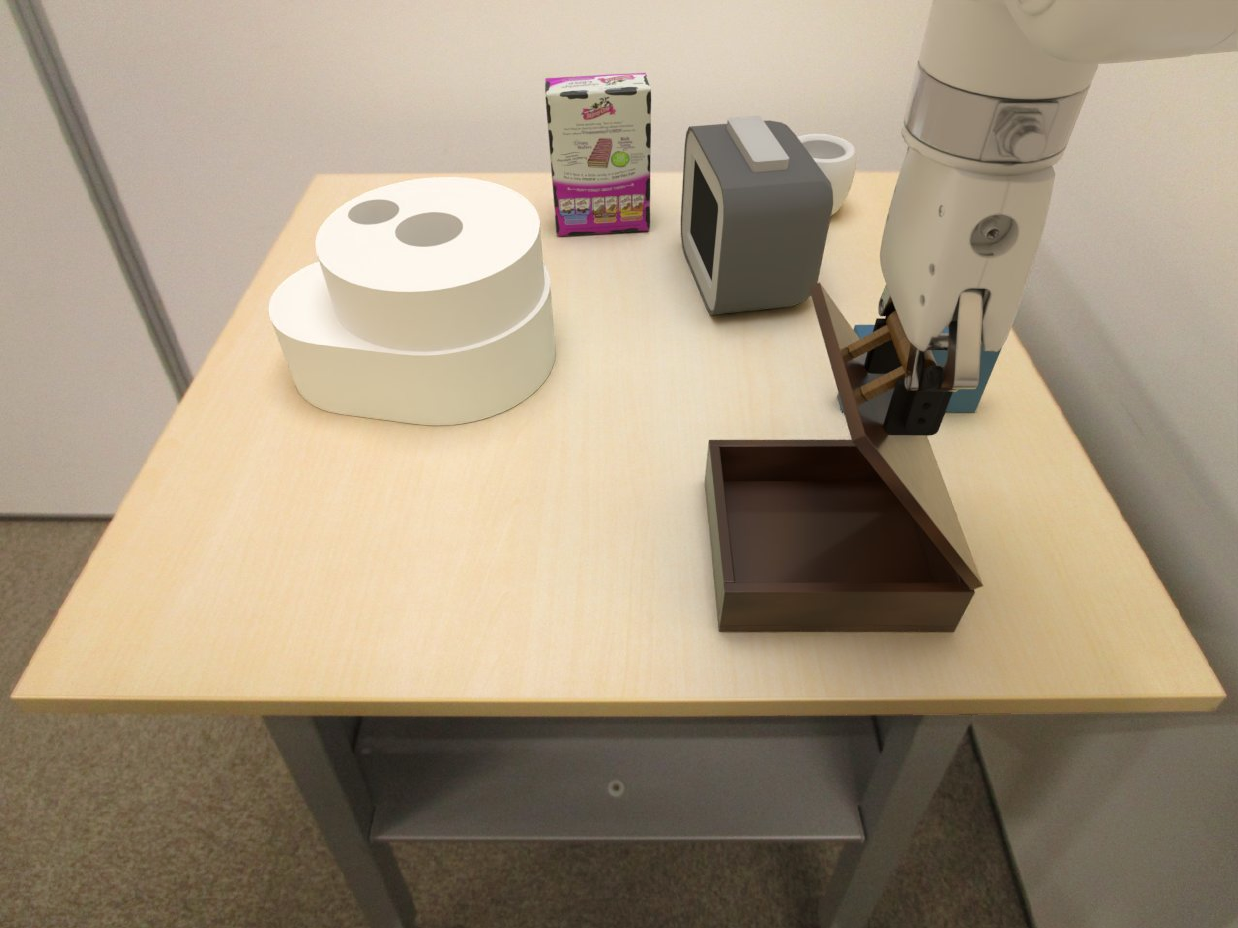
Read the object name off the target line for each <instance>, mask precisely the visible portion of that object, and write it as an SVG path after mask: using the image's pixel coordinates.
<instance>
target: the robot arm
mask: <svg viewBox="0 0 1238 928" xmlns="http://www.w3.org/2000/svg"><path fill="white" fill-rule="evenodd" d="M1231 52H1233V53H1234V52H1238V0H932V3H931V7H930V11H929V15H928V19H927V22H926V27H925V31H924V35H923V39H922V43H921V46H920V51H919V56H918V60H917V63H916V68H915V72H914V76H913V80H912V84H911V88H910V92H909V96H908V100H907V104H906V108H905V112H904V117H903V121H902V125H901V131H900V133H901V137H902V139H903V142H904V143H905V144H906V145H907V148H906V151H905V154H904V157H903V160H902V164H901V167H900V171H899V173H898V177H897V179H896V183H895V185H894V190H893V193H892V197H891V200H890V204H889V207H888V212H887V215H886V220H885V225H884V228H883V232H882V238H881V244H880V248H879V249H880V250H879V262H880V263H879V264H880V269H881V273H882V275H883V279H884V281H885V286H884V288H883V291H882V294H881V296H880V298H879V300H878V307H877V308H878V309H877V310H878V316H879V317H876V318H875V322H874V325H875V326H874V329H873V332H874V331H876V330H878V329H880V328H882V327H884V326H886V321H887V318H888V317H889V315H890V314H891V313H892V312H894V311H897V314H898V317H899V319H900V322H901V324H902V327H903V329H904V331H905V334H906V336H907V338H908V340H909V341H910V342H911V345H910V350H909V356H908V361H907V367H906V372H905V378H901V379H897V381H896V384H895V388H894V391H893V394H892V398H891V401H890V404H889V407H888V411H887V414H886V417H885V420H884V424H883V426H884V429H885V431H886V433H887V434H888V435H927V436H935V435H936V434H937V433H938V432H939V431H940V428H941V425H942V423H943V420H944V417H945V414H946V413H947V412H946V409H947V407H948V404H949V401H950V399H951V396H952V393H953V392H956V391H958V389H976V388H977V386H978V383H979V370H980V352H981V345H982V347H983V349H984V351H990V352H997V351H999V350H1000V349H1001V348H1002V349H1003V347H1002V346H1004V345H1005V343H1006V342H1007V339H1008V337H1009V335H1010V332H1011V329H1012V327H1013V325H1014V322H1015V319H1016V317H1017V314H1018V311H1019V309H1020V305H1021V303H1022V301H1023V300H1022V299H1023V297H1024V294H1025V292H1026V288H1027V286H1028V283H1029V279H1030V276H1031V273H1032V270H1033V267H1034V264H1035V262H1036V261H1035V260H1036V257H1037V255H1038V252H1039V249H1040V244H1041V241H1042V237H1043V234H1044V229H1045V226H1046V221H1047V218H1048V214H1049V208H1050V205H1051V201H1052V195H1053V189H1054V184H1055V178H1056V172H1055V168H1054V167H1053V166H1054V165H1057V164H1058V163H1059V162H1060V161H1061V160H1062V158H1063V156H1064V154H1065V151H1066V148H1067V146H1068V143H1069V140H1070V139H1071V136H1072V133H1073V131H1074V128H1075V125H1076V123H1077V120H1078V119H1079V115H1080V113H1081V110H1082V108H1083V106H1084V102H1085V100H1086V97H1087V95H1088V92H1089V91H1090V88H1091V85H1092V82H1093V80H1094V77H1095V75H1096V73H1097V71H1098V68H1099V65H1103V64H1107V65H1108V64H1121V63H1130V62H1131V63H1132V62H1143V61H1153V60H1154V61H1155V60H1163V59H1165V60H1166V59H1175V58H1185V57H1191V56H1194V55H1208V54H1210V55H1211V54H1221V53H1231ZM880 317H881V318H880ZM883 317H884V318H883ZM946 327H949V333H942V331H943V330H944V329H945V328H946ZM1002 349H1001V350H1002ZM926 350H948V353H947V361H946V363H945V365H941V366H929V367H926V368H923V367H924V362H925V357H926ZM864 366H865V369H866V371H867V372H868V373H870V374H887V373H889V372H891V371H893V370H895V369H897V368H899V367H901V363H900V360H899V358H898V355H897V352H896V350H895V347H894V345H893V342H892V339H891V340H889V341H887V342H885V343H883V344H881V345H879V346H878V347H876V348H874V349H872V350H870V351H868V352H867V356H866V360H865V363H864Z"/></svg>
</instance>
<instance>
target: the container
mask: <svg viewBox="0 0 1238 928" xmlns="http://www.w3.org/2000/svg"><path fill="white" fill-rule="evenodd" d="M541 232H542V231H541V221H540V217H539V213H538V211H537V209H536V208H535V206H534V205H533V204H532V203H531V202H530V200H529V199H527V197H525V196H523V195H522V194H520V193H519V192H518V191H516V190H513V188H510V187H507V186H504V185H502V184H500V183H495V182H492V181H488V180H484V179H477V178H473V177H472V178H471V177H461V176H460V177H459V176H434V177H423V178H415V179H408V180H403V181H398V182H395V183H390V184H386V185H384V186H380V187H377V188H373V189H371V190H368V191H366V192H364V193H362V194H359V195H357V196H356V197H354V198H351V199H350V200H349V201H347V202H345V203H343V204H342V205H341V206H339V207H337V208H336V209H335V210H334V211H333V212H332V213H331V214H330V215H328V216H327V218H325V220H324V221H323V222H322V224H321V225H320V227H319V229H318V231H317V234H316V237H315V241H314V242H315V243H314V245H315V251H316V256H317V259H318V260H317V261H316V262H313V263H310V264H309V265H306V266H304V267H302V268H300V269H299V270H297V271H295V272H293V274H290V276H287V278H286V279H285V280H283V281H282V282H281V283H280V284H279V285H278V286H277V287H276V289H275V290H274V292H273V293H272V294H271V297H270V299H269V302H268V307H267V308H268V316H269V319H270V322H271V325H272V327H273V330H274V332H275V335H276V338H277V341H278V343H279V346H280V349H281V351H282V353H283V356H284V359H285V361H286V364H287V367H288V369H289V371H290V374H291V377H292V379H293V382H294V385H295V387H296V390H297V391H298V393H299V394H300V396H301V397H302V398H303V399H304V400H305V401H306V402H307V403H309V404H310V405H312V406H313V407H315V408H318V409H319V410H322V411H326V412H329V413H331V414H332V413H333V414H338V415H345V416H352V417H358V418H367V419H375V420H381V421H390V422H398V423H405V424H413V425H419V426H440V427H441V426H455V425H462V424H469V423H473V422H478V421H482V420H485V419H488V418H491V417H495V416H497V415H499V414H502V413H504V412H506V411H508V410H510V409H512V408H514V407H516V406H518V405H519V404H521V403H523V402H524V401H525V400H527V399H529V398H530V397H531V396H532V395H533V394H534V393H535V392H536V391H537V390H539V389H540V388H541V386H542V385H543V384H544V383H545V382H546V380H547V379H548V377H549V376H550V374H551V372H552V370H553V368H554V364H555V362H556V354H557V352H556V351H557V350H556V338H555V325H554V314H553V301H552V299H553V298H552V287H551V277H550V272H549V270H548V267H547V266H546V264H545V262H544V256H543V245H542V233H541Z"/></svg>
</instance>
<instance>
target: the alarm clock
mask: <svg viewBox="0 0 1238 928" xmlns="http://www.w3.org/2000/svg"><path fill="white" fill-rule="evenodd" d="M798 137H799V136H797V134H796V133H795V132H794V131H793V130H792V129H791V128H790V127H789V126H788V124H787V123H784V122H781V121H776V120H771V119H770V120H764V119H763V118H762V116H760V115H750V116H737V117H736V116H735V117H729V118H727V121H726V123H718V124H707V125H705V124H704V125H692V126H688V128H687V130H686V132H685V139H684V148H683V149H684V150H683V166H682V167H683V170H682V186H681V203H680V204H681V206H680V238H681V247H682V251H683V255H684V258H685V260H686V262H687V265H688V267H689V269H690V270H689V271H690V272H691V274H692V276H693V279H694V282H695V284H696V286H697V289H698V291H699V294H700V296H701V298H702V300H703V301H702V302H703V304H704V305H705V308H706V310H707V312H708V313H709V315H711V316H712V315H713V316H714V315H722V314H733V313H742V312H751V311H753V312H754V311H759V310H760V311H762V310H771V309H780V308H790V307H793V306H796V305H799V304H802V303H803V302H805V301H807V300H808V299H809V298H810V297H811V293H810V289H809V288H811V287H813V286H814V285H816V284H818V283H819V278H820V273H821V268H822V262H823V259H824V258H823V257H824V252H825V249H826V244H827V243H826V242H827V238H828V232H829V227H830V223H831V219H832V216H831V213H832V208H833V190H832V186H831V182H830V181H829V180H828V178H827V177H826V176H825V174H824V173H823V171H822V170H821V169H820V167H819V166H818V165H817V163H816V162H815V161H814V159H813V158H812V156H811V155H810V154H809V152H808V151H807V150H806V148H805V147H804V146H803V144H802V143H801V142H800V140H799V139H798Z"/></svg>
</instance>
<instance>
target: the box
mask: <svg viewBox="0 0 1238 928" xmlns="http://www.w3.org/2000/svg"><path fill="white" fill-rule="evenodd" d="M706 454H707V455H706V463H705V474H704V489H705V499H706V511H707V512H706V513H707V519H708V520H707V522H708V532H709V533H708V534H709V543H710V553H711V564H712V574H713V576H712V577H713V584H714V596H715V606H716V607H715V608H716V617H717V628H718V632H719V633H720V632H721V633H722V632H724V633H726V632H727V633H730V632H731V633H736V632H737V633H738V632H739V633H740V632H741V633H743V632H744V633H745V632H746V633H747V632H749V633H750V632H753V633H754V632H757V633H763V632H765V633H766V632H767V633H772V632H773V633H777V632H779V633H785V632H786V633H787V632H788V633H791V632H792V633H794V632H795V633H798V632H799V633H821V632H822V633H839V632H842V633H926V632H927V633H954V632H956V629H957V627H958V625H959V624H960V622H961V620H962V618H963V616H964V614H965V612H966V610H967V608H968V607H969V604H970V603H971V601H972V599H973V597H974V596H975V593H976V590H975V589H974V590H971V589H970V588H969V586H968V585H967V584H966V583H965V581H964V580H963V579H962V578H961V576H960V575H959V574H958V573H957V571H956V570H955V569H954V568H953V566H952V565H951V564H950V563H949V561H948V560H947V559H946V558H945V556H944V555H943V554H942V553H941V551H940V550H939V549H938V548H937V546H936V545H935V544H934V543H933V541H932V540H931V539H930V538H929V536H928V535H927V534H926V533H925V531H924V530H923V529H922V528H921V526H920V525H919V524H918V523H917V522H916V520H915V519H914V518H913V517H912V515H911V514H910V513H909V512H908V510H907V509H906V508H905V507H904V505H903V504H902V503H901V502H900V500H899V499H898V498H897V497H896V495H895V494H894V493H893V492H892V490H891V489H890V488H889V487H888V485H887V484H886V483H885V482H884V480H883V479H882V478H881V477H880V475H879V474H878V473H877V472H876V470H875V469H874V468H873V467H872V465H871V464H870V463H869V462H868V460H867V459H866V458H865V457H864V455H863V454H862V453H861V452H860V450H859V449H858V448H857V447H856V445H855V444H854V443H853V442H852V439H708V444H707V453H706Z"/></svg>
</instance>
